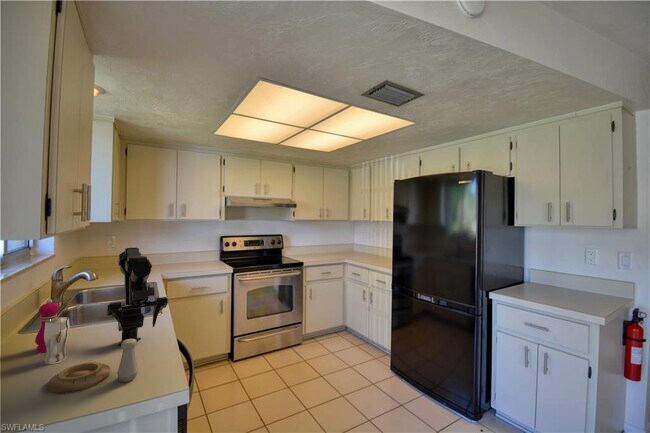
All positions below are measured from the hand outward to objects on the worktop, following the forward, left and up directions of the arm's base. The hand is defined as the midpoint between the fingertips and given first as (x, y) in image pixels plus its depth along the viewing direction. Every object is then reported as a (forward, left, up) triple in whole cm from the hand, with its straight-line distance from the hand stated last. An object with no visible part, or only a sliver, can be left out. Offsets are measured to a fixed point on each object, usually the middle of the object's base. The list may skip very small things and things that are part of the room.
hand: (138, 329), depth 104 cm
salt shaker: (+6, 0, -14) cm, 16 cm away
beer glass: (-9, -32, -14) cm, 36 cm away
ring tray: (+5, -15, -14) cm, 21 cm away
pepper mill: (-19, -42, -14) cm, 48 cm away
